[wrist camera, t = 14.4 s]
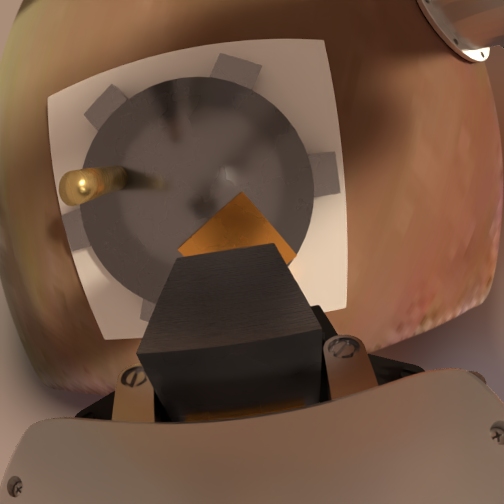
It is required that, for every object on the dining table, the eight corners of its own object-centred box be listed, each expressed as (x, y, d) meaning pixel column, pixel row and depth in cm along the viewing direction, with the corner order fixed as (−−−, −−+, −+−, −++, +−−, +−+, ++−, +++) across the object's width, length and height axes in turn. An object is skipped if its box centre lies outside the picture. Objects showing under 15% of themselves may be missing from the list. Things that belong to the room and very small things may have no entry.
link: (274, 242, 11) (325, 333, 5) (284, 355, 13) (315, 458, 7) (176, 257, 11) (133, 359, 5) (207, 366, 13) (203, 473, 7)
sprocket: (121, 41, 14) (82, 3, 7) (361, 115, 18) (418, 102, 11) (62, 281, 20) (19, 323, 13) (267, 344, 23) (280, 405, 17)
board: (319, 44, 16) (324, 39, 15) (342, 302, 24) (346, 308, 23) (53, 98, 16) (46, 97, 14) (108, 333, 23) (104, 340, 22)
